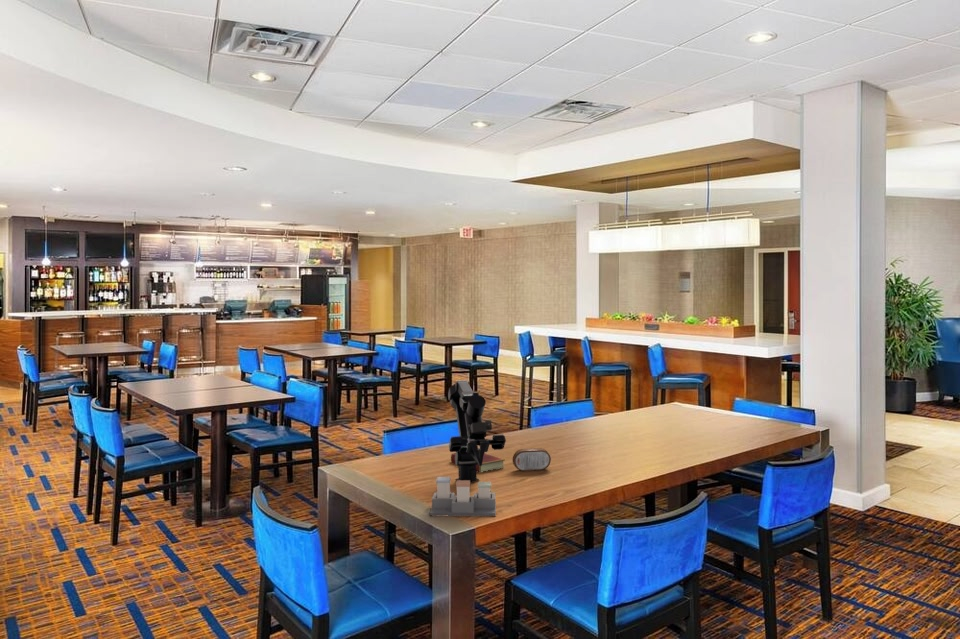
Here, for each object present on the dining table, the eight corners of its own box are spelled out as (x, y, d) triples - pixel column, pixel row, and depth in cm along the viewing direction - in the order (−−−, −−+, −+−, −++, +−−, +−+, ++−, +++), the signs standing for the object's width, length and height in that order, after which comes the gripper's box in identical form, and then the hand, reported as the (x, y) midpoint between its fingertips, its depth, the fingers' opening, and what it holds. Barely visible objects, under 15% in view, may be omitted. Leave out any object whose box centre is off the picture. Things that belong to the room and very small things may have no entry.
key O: (478, 503, 213) (478, 481, 213) (491, 503, 213) (491, 481, 213) (477, 507, 209) (477, 485, 209) (490, 507, 209) (490, 485, 209)
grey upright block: (437, 498, 213) (437, 476, 213) (450, 498, 213) (450, 476, 213) (436, 502, 209) (436, 480, 209) (449, 502, 209) (449, 480, 209)
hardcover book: (479, 474, 253) (479, 463, 253) (450, 462, 271) (450, 452, 270) (504, 469, 260) (504, 458, 260) (474, 458, 277) (474, 448, 277)
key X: (457, 502, 209) (457, 480, 209) (470, 502, 209) (470, 480, 209) (456, 506, 205) (456, 484, 205) (469, 506, 205) (469, 484, 205)
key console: (433, 504, 215) (433, 492, 215) (496, 504, 214) (495, 492, 214) (429, 515, 204) (429, 503, 204) (495, 516, 203) (495, 503, 203)
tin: (549, 468, 260) (549, 447, 259) (551, 470, 257) (551, 448, 256) (512, 470, 257) (512, 448, 257) (514, 472, 254) (514, 450, 254)
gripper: (450, 413, 219) (455, 454, 209) (504, 410, 223) (512, 451, 212) (446, 431, 227) (451, 471, 217) (499, 428, 231) (506, 468, 221)
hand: (480, 465), depth 217 cm, fingers closed
